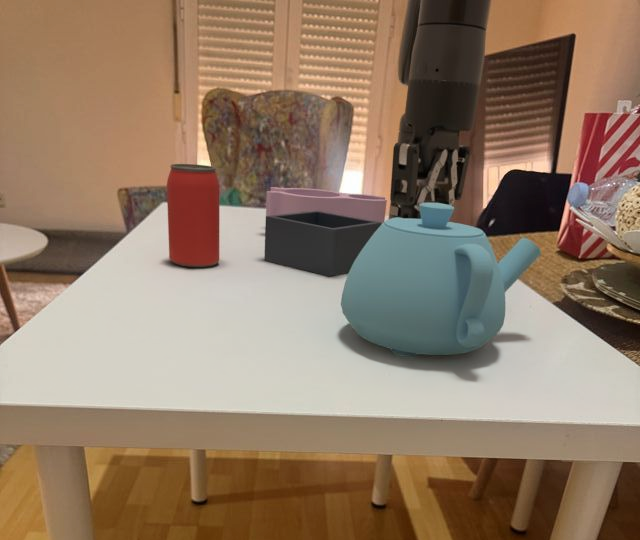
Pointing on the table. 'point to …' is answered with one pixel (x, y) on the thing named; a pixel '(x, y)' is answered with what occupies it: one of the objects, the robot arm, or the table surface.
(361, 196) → the pink elongated piece
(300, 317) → the table surface
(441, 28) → the robot arm
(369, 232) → the caddy
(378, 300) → the teapot
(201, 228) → the beer can
